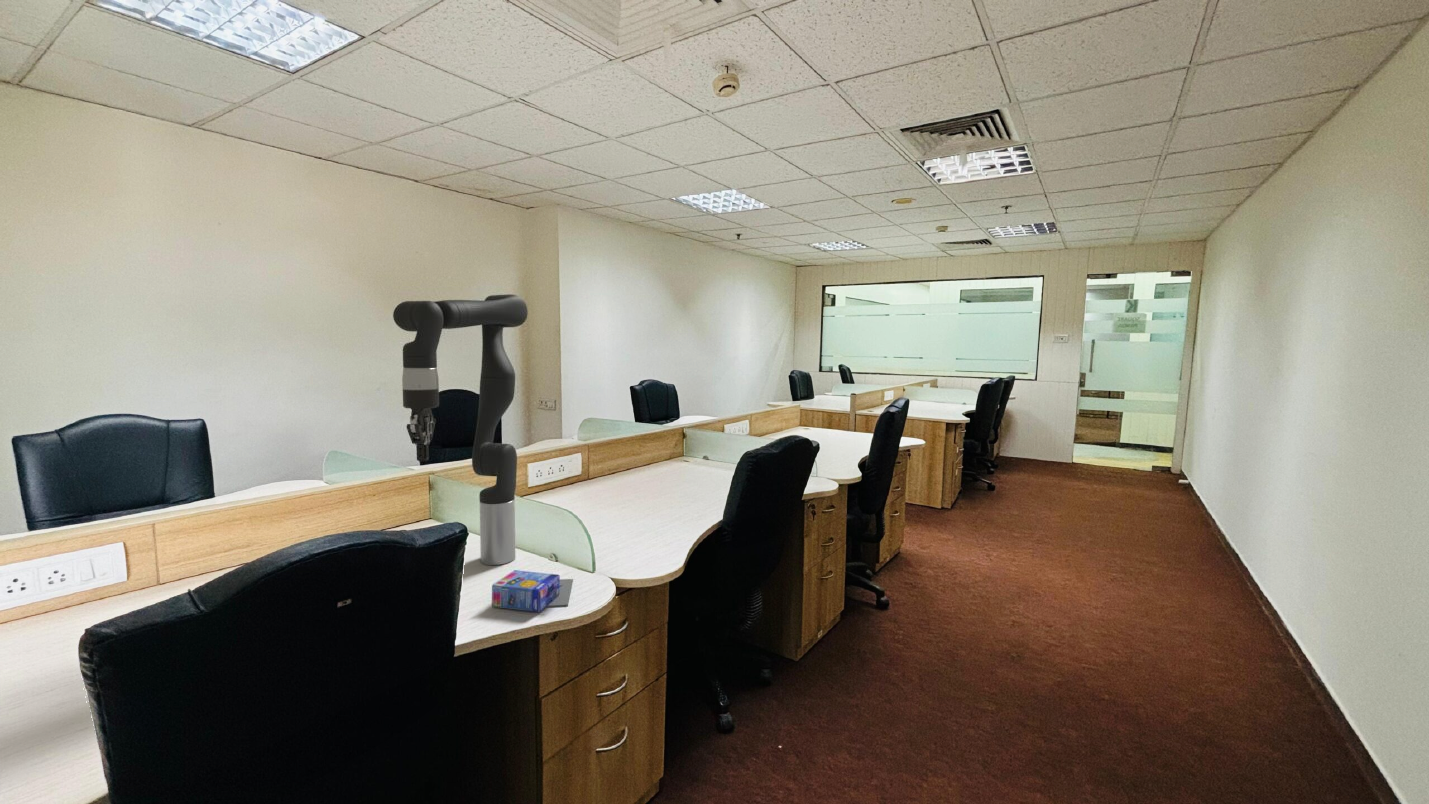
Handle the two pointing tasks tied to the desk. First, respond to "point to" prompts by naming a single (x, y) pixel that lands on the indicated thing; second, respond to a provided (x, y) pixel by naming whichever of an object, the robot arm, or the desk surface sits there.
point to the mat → (562, 594)
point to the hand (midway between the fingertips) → (422, 460)
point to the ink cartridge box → (525, 590)
